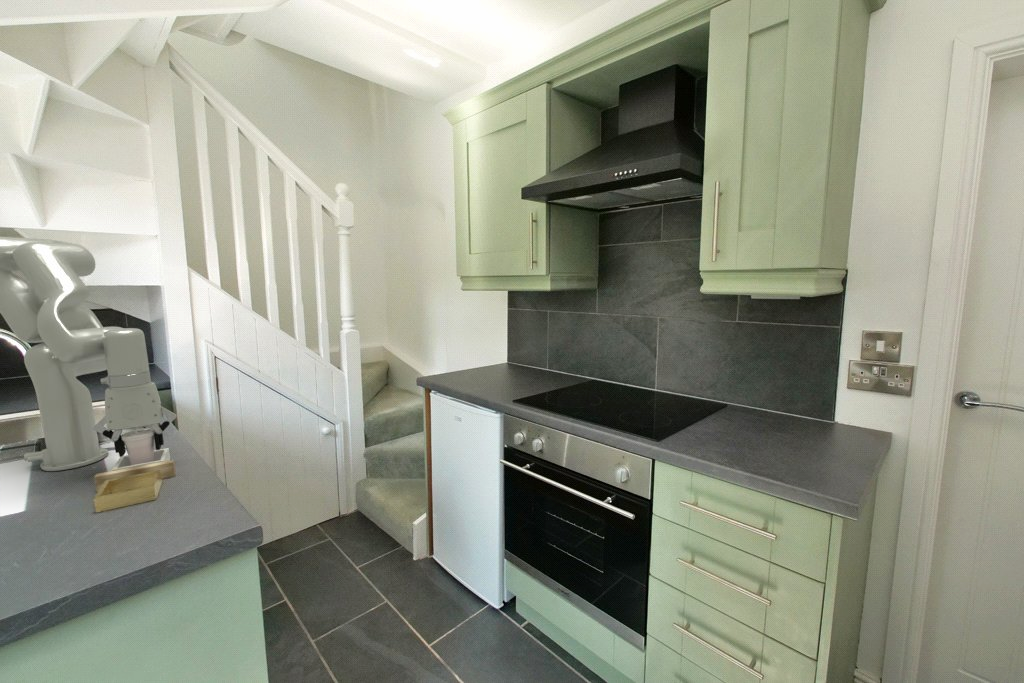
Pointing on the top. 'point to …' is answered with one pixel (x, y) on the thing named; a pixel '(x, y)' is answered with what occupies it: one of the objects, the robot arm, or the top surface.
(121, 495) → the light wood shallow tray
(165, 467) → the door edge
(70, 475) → the top surface
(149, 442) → the smoothie
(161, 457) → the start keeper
